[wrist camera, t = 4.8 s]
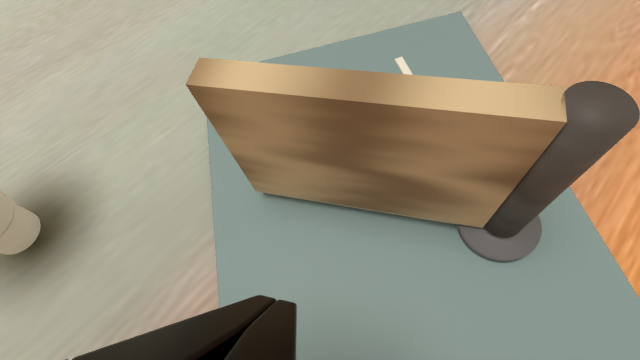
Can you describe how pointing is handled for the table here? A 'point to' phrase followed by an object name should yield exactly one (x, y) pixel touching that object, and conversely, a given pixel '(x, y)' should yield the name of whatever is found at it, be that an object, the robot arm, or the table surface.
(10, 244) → the lightbulb
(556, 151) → the gate
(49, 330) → the table surface
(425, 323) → the board
